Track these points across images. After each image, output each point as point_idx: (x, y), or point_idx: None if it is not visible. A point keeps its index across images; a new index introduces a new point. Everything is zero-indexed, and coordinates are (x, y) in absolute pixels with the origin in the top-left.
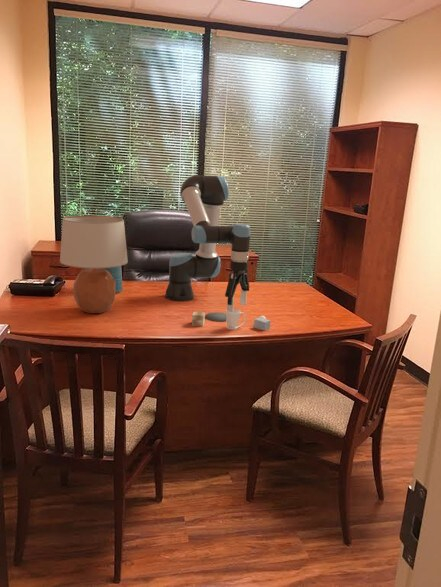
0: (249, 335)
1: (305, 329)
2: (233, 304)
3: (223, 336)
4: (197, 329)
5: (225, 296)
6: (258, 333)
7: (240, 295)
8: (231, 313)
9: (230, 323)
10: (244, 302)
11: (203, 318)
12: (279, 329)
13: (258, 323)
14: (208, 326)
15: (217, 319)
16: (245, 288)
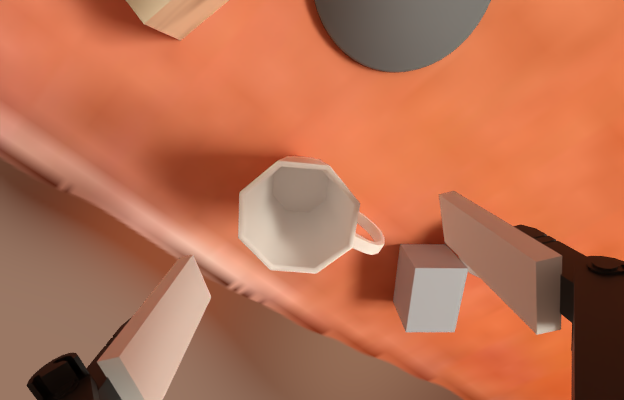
0: (285, 296)
1: (531, 387)
2: (183, 346)
3: (170, 233)
4: (113, 61)
5: (54, 360)
6: (339, 305)
7: (488, 230)
8: (247, 243)
9: (265, 205)
10: (455, 245)
11: (166, 21)
12: (457, 329)
13: (406, 283)
14: (209, 68)
15: (341, 22)
16: (572, 357)
